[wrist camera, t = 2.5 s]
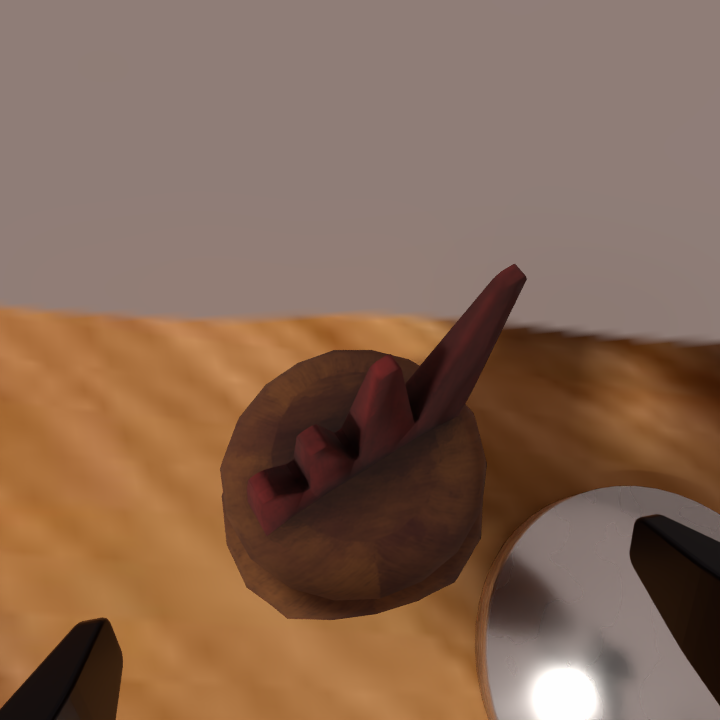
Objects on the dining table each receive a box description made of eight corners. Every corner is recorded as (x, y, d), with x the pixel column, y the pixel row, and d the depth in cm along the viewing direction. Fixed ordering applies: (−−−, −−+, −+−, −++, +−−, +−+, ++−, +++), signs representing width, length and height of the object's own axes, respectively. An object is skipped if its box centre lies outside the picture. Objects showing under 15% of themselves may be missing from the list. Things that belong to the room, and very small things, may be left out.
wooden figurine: (425, 423, 20) (589, 94, 6) (464, 582, 18) (846, 621, 4) (250, 456, 20) (1, 174, 6) (270, 624, 17) (-50, 835, 4)
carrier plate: (838, 874, 16) (888, 903, 14) (479, 857, 15) (494, 885, 14) (756, 501, 20) (788, 496, 18) (471, 482, 20) (482, 475, 18)
